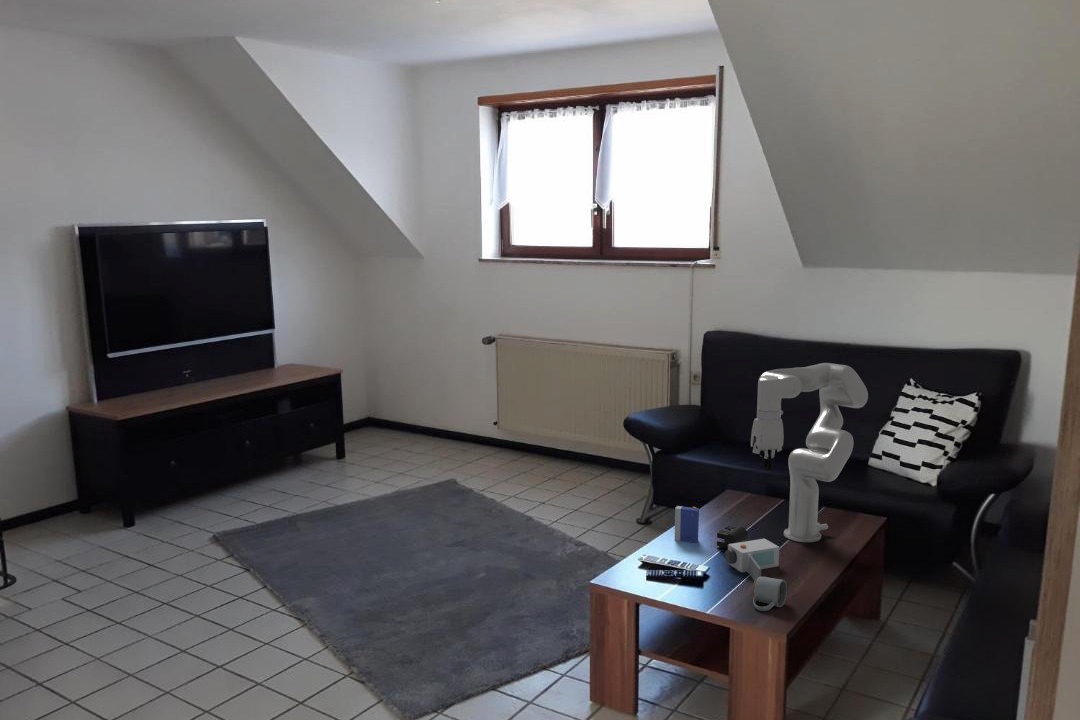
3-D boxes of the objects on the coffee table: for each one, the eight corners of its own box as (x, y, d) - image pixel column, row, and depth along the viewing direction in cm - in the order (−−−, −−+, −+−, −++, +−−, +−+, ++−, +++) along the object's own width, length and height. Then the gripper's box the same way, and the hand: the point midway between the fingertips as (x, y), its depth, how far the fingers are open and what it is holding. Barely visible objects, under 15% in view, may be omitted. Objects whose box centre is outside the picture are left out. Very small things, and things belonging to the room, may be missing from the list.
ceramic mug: (760, 594, 255) (761, 570, 254) (787, 601, 250) (788, 576, 249) (746, 608, 247) (746, 583, 245) (773, 615, 242) (774, 590, 241)
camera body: (763, 557, 284) (764, 536, 282) (778, 566, 276) (779, 545, 275) (723, 564, 278) (723, 543, 277) (737, 573, 271) (738, 552, 269)
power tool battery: (735, 555, 286) (736, 535, 285) (715, 550, 290) (716, 531, 289) (747, 546, 294) (748, 527, 293) (728, 541, 298) (729, 522, 297)
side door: (761, 587, 260) (762, 568, 259) (757, 587, 260) (758, 568, 259) (750, 571, 271) (751, 553, 270) (746, 572, 271) (747, 553, 270)
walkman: (698, 540, 299) (699, 507, 297) (696, 543, 296) (697, 509, 294) (676, 537, 302) (676, 504, 300) (674, 540, 299) (674, 507, 297)
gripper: (780, 410, 286) (778, 464, 289) (742, 414, 280) (740, 468, 283) (795, 415, 279) (792, 469, 282) (756, 419, 273) (754, 474, 276)
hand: (766, 469), depth 282 cm, fingers closed
